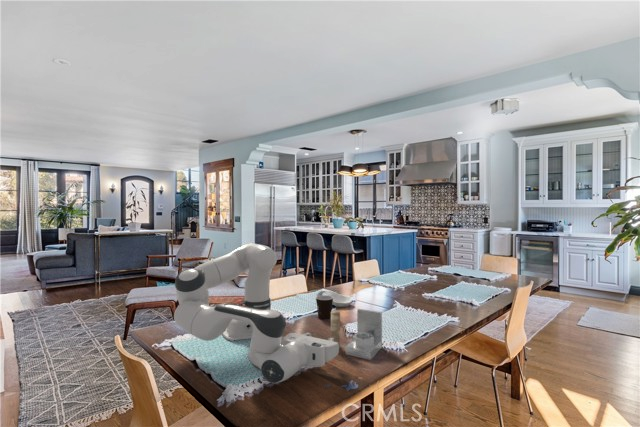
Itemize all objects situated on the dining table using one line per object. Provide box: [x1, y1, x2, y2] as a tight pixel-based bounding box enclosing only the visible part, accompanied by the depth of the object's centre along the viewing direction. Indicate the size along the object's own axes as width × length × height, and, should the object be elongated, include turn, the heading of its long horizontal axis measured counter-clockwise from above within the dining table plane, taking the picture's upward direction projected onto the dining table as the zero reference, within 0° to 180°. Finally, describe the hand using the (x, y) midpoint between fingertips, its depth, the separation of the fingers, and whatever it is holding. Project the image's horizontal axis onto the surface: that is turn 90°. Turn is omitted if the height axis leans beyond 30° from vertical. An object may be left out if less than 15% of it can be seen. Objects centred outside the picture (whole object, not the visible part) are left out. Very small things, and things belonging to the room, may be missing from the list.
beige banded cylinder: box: [330, 310, 341, 349], centre depth 136 cm, size 4×4×14 cm
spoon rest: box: [316, 289, 353, 308], centre depth 195 cm, size 24×12×7 cm, turn 47°
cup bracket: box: [345, 308, 383, 361], centre depth 132 cm, size 12×10×14 cm
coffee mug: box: [315, 294, 333, 321], centre depth 173 cm, size 12×9×10 cm
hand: (320, 337), depth 125 cm, fingers open, 8 cm apart
